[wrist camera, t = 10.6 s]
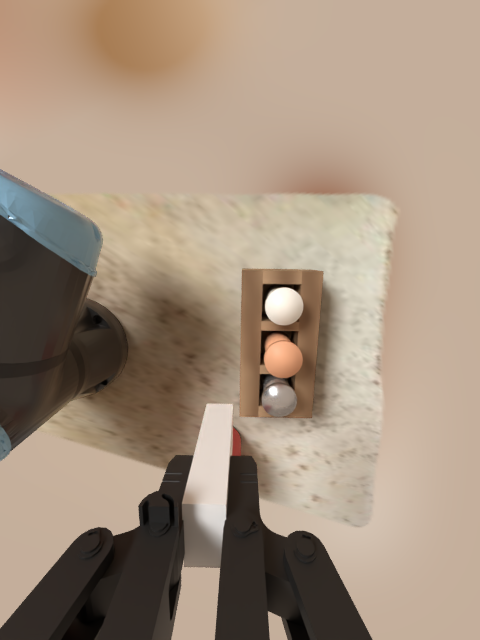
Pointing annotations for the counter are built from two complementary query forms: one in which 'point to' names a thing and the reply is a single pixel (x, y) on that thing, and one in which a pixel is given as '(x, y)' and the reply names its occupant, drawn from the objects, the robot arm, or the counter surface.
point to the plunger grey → (277, 396)
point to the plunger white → (283, 305)
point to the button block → (260, 325)
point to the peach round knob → (281, 355)
